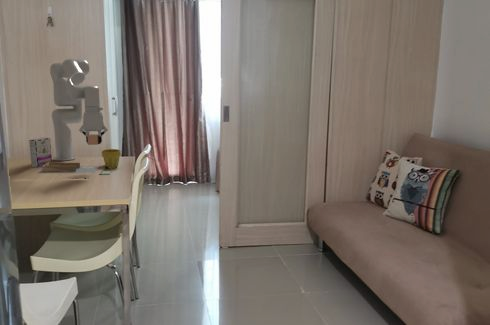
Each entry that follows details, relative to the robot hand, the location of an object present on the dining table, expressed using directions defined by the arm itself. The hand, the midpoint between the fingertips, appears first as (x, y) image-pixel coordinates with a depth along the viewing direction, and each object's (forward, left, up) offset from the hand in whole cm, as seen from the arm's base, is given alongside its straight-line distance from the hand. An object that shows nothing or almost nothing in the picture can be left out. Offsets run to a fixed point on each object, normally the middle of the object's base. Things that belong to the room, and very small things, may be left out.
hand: (94, 143), depth 236 cm
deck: (-3, -14, -16) cm, 22 cm away
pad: (+3, +5, -16) cm, 17 cm away
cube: (+1, 0, 0) cm, 1 cm away
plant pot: (-14, +6, -16) cm, 23 cm away
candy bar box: (-16, -33, -16) cm, 40 cm away
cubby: (-2, -18, -15) cm, 24 cm away
